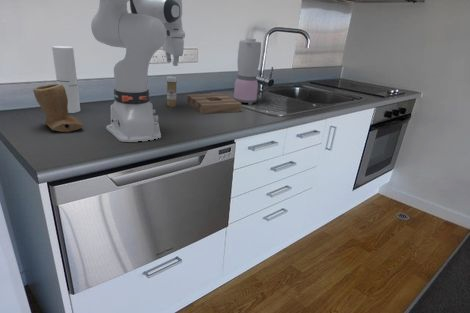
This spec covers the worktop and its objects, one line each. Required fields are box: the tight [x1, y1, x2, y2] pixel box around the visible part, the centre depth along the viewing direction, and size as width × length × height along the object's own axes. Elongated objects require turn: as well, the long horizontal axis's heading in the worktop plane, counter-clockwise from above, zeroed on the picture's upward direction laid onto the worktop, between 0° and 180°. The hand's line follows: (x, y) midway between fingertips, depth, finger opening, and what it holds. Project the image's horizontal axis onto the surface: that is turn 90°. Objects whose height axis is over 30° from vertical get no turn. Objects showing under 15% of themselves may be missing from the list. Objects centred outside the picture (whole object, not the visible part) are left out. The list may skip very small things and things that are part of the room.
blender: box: [233, 37, 262, 106], centre depth 164 cm, size 16×12×32 cm
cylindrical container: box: [51, 45, 81, 114], centre depth 126 cm, size 7×7×25 cm
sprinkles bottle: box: [166, 76, 178, 108], centre depth 148 cm, size 5×5×13 cm
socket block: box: [186, 93, 243, 115], centre depth 153 cm, size 20×20×4 cm
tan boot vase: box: [33, 83, 84, 133], centre depth 109 cm, size 15×12×15 cm
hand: (172, 63), depth 143 cm, fingers open, 8 cm apart
